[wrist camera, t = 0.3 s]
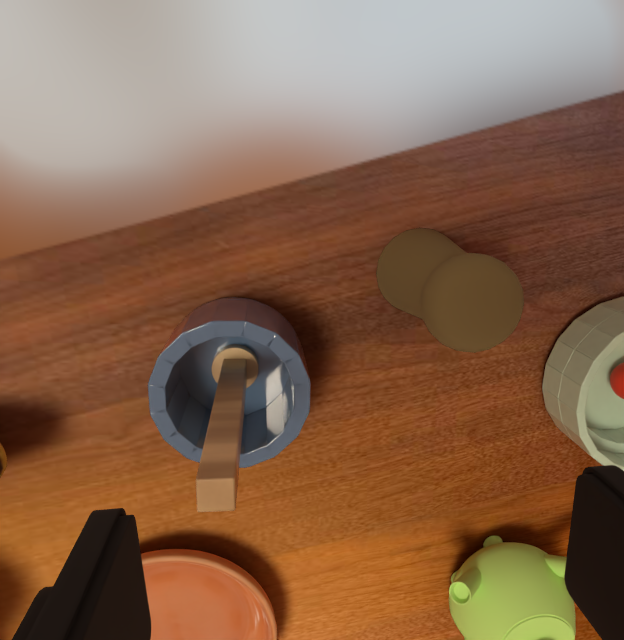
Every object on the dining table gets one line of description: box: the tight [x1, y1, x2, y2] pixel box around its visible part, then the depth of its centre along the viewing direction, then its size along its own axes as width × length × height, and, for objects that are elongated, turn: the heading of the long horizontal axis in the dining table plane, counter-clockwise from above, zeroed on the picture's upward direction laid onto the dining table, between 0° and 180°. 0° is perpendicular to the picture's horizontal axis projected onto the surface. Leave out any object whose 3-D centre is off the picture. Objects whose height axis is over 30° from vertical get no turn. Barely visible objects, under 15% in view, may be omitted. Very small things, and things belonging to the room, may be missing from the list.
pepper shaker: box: [376, 228, 524, 353], centre depth 30 cm, size 6×6×11 cm
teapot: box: [449, 536, 575, 640], centre depth 39 cm, size 11×12×8 cm
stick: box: [196, 344, 259, 512], centre depth 28 cm, size 3×3×15 cm
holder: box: [148, 297, 311, 468], centre depth 33 cm, size 10×10×6 cm
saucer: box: [141, 549, 277, 640], centre depth 40 cm, size 16×16×3 cm
